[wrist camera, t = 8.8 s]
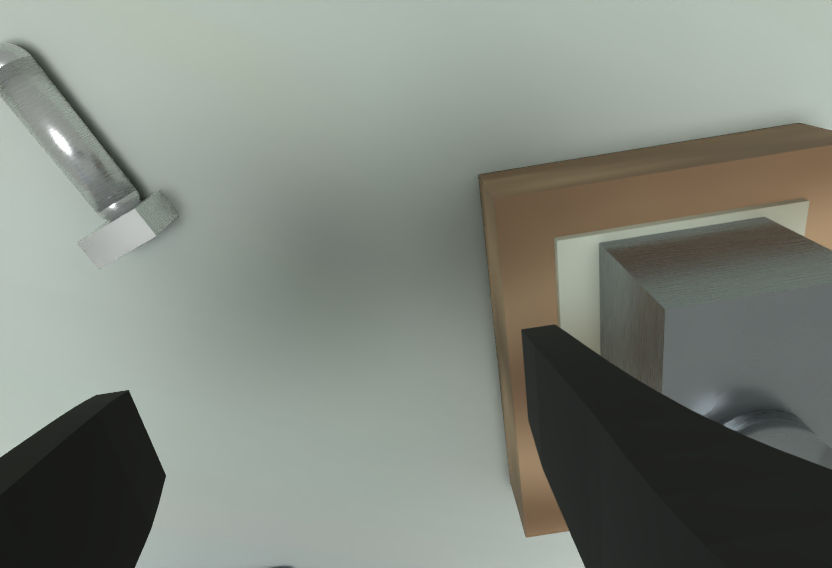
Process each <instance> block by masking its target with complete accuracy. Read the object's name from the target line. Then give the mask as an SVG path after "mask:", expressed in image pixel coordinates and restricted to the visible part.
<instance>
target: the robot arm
mask: <svg viewBox="0 0 832 568" xmlns="http://www.w3.org/2000/svg"><path fill="white" fill-rule="evenodd" d="M521 334H522V347H523V360H524V372H525V385H526V398H527V411H528V421H529V425H530V428H531V432H532V435H533V439H534V442H535V446H536V449H537V452H538V455H539V459H540V462H541V465H542V469H543V471H544V473H545V476H546V478H547V480H548V483H549V485H550V487H551V490H552V492H553V494H554V497H555V499H556V501H557V504H558V506H559V508H560V511H561V513H562V515H563V517H564V520H565V522H566V524H567V527H568V529H569V531H570V533H571V536H572V538H573V540H574V543H575V545H576V547H577V549H578V552H579V554H580V556H581V559H582V561H583V563H584V566H585V568H832V469H829V468H826V467H823V466H821V465H818V464H816V463H813V462H810V461H808V460H805V459H802V458H800V457H797V456H795V455H792V454H789V453H787V452H784V451H781V450H779V449H776V448H774V447H771V446H769V445H766V444H764V443H762V442H759V441H757V440H754V439H752V438H750V437H747V436H745V435H743V434H741V433H739V432H737V431H734V430H732V429H730V428H728V427H726V426H724V425H721V424H719V423H717V422H715V421H713V420H711V419H709V418H706V417H704V416H702V415H700V414H698V413H696V412H694V411H692V410H691V409H689V408H687V407H685V406H683V405H681V404H679V403H677V402H676V401H674V400H672V399H670V398H669V397H667V396H665V395H663V394H661V393H660V392H658V391H656V390H654V389H652V388H651V387H649V386H647V385H646V384H644V383H642V382H641V381H639V380H637V379H636V378H634V377H633V376H631V375H629V374H628V373H626V372H625V371H623V370H621V369H620V368H618V367H617V366H615V365H614V364H612V363H611V362H609V361H608V360H606V359H605V358H603V357H602V356H600V355H599V354H597V353H596V352H594V351H593V350H591V349H590V348H589V347H587V346H586V345H584V344H583V343H581V342H580V341H579V340H577V339H576V338H574V337H573V336H571V335H570V334H569V333H567V332H566V331H564V330H563V329H561V328H560V327H558V326H557V325H555V324H553V325H547V326H540V327H534V328H527V329H521ZM165 478H166V475H165V472H164V470H163V468H162V465H161V463H160V461H159V459H158V456H157V454H156V452H155V449H154V447H153V445H152V442H151V440H150V438H149V436H148V433H147V431H146V429H145V426H144V424H143V422H142V420H141V417H140V415H139V413H138V410H137V408H136V406H135V403H134V401H133V399H132V397H131V394H130V392H129V390H126V391H120V392H113V393H107V394H101V395H95V396H94V397H92V398H90V399H88V400H86V401H84V402H83V403H81V404H79V405H78V406H76V407H74V408H73V409H71V410H70V411H68V412H66V413H65V414H63V415H62V416H60V417H59V418H57V419H56V420H54V421H53V422H51V423H50V424H48V425H47V426H45V427H44V428H42V429H41V430H40V431H38V432H37V433H35V434H34V435H32V436H31V437H29V438H28V439H26V440H25V441H24V442H22V443H21V444H19V445H18V446H16V447H15V448H13V449H12V450H11V451H9V452H8V453H6V454H5V455H3V456H2V457H0V568H135V566H136V563H137V561H138V559H139V556H140V554H141V552H142V549H143V547H144V545H145V542H146V540H147V538H148V535H149V533H150V530H151V528H152V525H153V521H154V518H155V515H156V511H157V508H158V505H159V501H160V497H161V493H162V489H163V485H164V481H165Z"/></svg>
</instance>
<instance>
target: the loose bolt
mask: <svg viewBox="0 0 832 568" xmlns="http://www.w3.org/2000/svg"><path fill="white" fill-rule="evenodd" d="M0 97H1V98H2V99H3V100H4V101H5V103H6V104H7V105H8V106H9V107H10V109H11V110H12V111H13V112H14V114H15V115H16V116H17V117H18V118H19V120H20V121H21V122H22V123H23V124H24V126H25V127H26V128H27V129H28V130H29V132H30V133H31V134H32V135H33V136H34V138H35V139H36V140H37V141H38V142H39V144H40V145H41V146H42V147H43V148H44V150H45V151H46V152H47V153H48V154H49V156H50V157H51V158H52V159H53V161H54V162H55V163H56V164H57V165H58V167H59V168H60V169H61V170H62V171H63V173H64V174H65V175H66V176H67V177H68V179H69V180H70V181H71V182H72V183H73V185H74V186H75V187H76V188H77V189H78V191H79V192H80V193H81V194H82V195H83V197H84V198H85V199H86V200H87V201H88V203H89V204H90V205H91V206H92V207H93V209H94V210H95V211H96V212H97V213H98V214H99V215H100V216H101V217H102V218H103V219H105V220H107V222H106V223H104V224H103V225H101V226H100V227H99V228H97V229H96V230H94V231H93V232H92V233H90V234H89V235H87V236H86V237H85V238H83V239H82V240H80V241H79V242H78V243H77V244H78V245H79V246H80V247H81V249H82V250H83V251H84V252H85V253H86V254H87V255H88V257H89V258H90V259H91V260H92V261H93V262H94V264H95V265H96V266H97V267H98V268H99V269H101V268H102V267H104V266H106V265H107V264H109V263H111V262H113V261H114V260H116V259H118V258H120V257H121V256H123V255H125V254H126V253H128V252H130V251H132V250H133V249H135V248H137V247H138V246H140V245H142V244H144V243H145V242H147V241H149V240H150V239H152V238H154V237H156V236H157V235H158V234H159V233H160V232H161V231H162V230H163V229H164V228H166V227H167V226H168V225H169V224H170V223H171V222H172V221H173V220H174V219H175V218H176V217H177V216H178V215H179V214H178V213H177V211H176V210H175V209H174V208H173V206H172V205H171V204H170V202H169V201H168V200H167V198H166V197H165V196H164V194H163V193H162V192H161V191H160V190H159V191H157V192H156V193H154V194H152V195H151V196H149V197H147V198H146V199H144V200H142V201H141V199H140V195H139V193H138V191H137V190H136V189H135V187H134V186H133V185H132V183H131V182H130V181H129V180H128V178H127V177H126V176H125V174H124V173H123V172H122V171H121V169H120V168H119V167H118V166H117V164H116V163H115V162H114V160H113V159H112V158H111V157H110V155H109V154H108V153H107V151H106V150H105V149H104V148H103V146H102V145H101V144H100V143H99V141H98V140H97V139H96V137H95V136H94V135H93V134H92V132H91V131H90V130H89V128H88V127H87V126H86V125H85V123H84V122H83V121H82V120H81V118H80V117H79V116H78V114H77V113H76V112H75V111H74V109H73V108H72V107H71V105H70V104H69V103H68V102H67V100H66V99H65V98H64V97H63V95H62V94H61V93H60V91H59V90H58V89H57V88H56V86H55V85H54V84H53V83H52V81H51V80H50V79H49V77H48V76H47V75H46V74H45V72H44V71H43V70H42V68H41V67H40V66H39V65H38V63H37V62H36V61H35V60H34V58H33V57H32V56H31V55H30V54H29V53H28V52H27V51H26V50H24V49H23V48H21V47H19V46H17V45H14V44H11V43H0Z"/></svg>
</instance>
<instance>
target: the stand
mask: <svg viewBox="0 0 832 568" xmlns="http://www.w3.org/2000/svg"><path fill="white" fill-rule="evenodd" d="M478 176H479V185H480V195H481V205H482V214H483V224H484V234H485V243H486V253H487V262H488V272H489V282H490V291H491V301H492V310H493V320H494V330H495V339H496V349H497V358H498V368H499V378H500V387H501V397H502V406H503V416H504V426H505V435H506V445H507V455H508V464H509V474H510V483H511V486H512V490H513V493H514V497H515V500H516V504H517V507H518V511H519V515H520V518H521V522H522V525H523V529H524V532H525V536H526V537H532V536H539V535H546V534H552V533H559V532H565V531H569V529H568V527H567V524H566V522H565V520H564V517H563V515H562V513H561V511H560V508H559V506H558V504H557V501H556V499H555V497H554V494H553V492H552V490H551V487H550V485H549V483H548V480H547V478H546V476H545V473H544V471H543V469H542V465H541V462H540V459H539V455H538V452H537V449H536V446H535V442H534V439H533V435H532V432H531V428H530V425H529V421H528V411H527V398H526V385H525V372H524V360H523V347H522V334H521V329H527V328H534V327H540V326H547V325H553V324H555V325H557V326H558V327H560V328H561V329H563V330H564V331H566V332H567V333H569V334H570V335H571V336H573V337H574V338H576V339H577V340H579V341H580V342H581V343H583V344H584V345H586V346H587V347H589V348H590V349H591V350H593V351H594V352H596V353H597V354H599V355H600V288H599V243H601V242H607V241H614V240H620V239H626V238H632V237H639V236H645V235H651V234H657V233H664V232H670V231H676V230H683V229H689V228H695V227H701V226H708V225H714V224H720V223H726V222H733V221H739V220H745V219H752V218H758V217H766V218H768V219H770V220H772V221H774V222H776V223H778V224H780V225H782V226H784V227H786V228H788V229H790V230H792V231H794V232H796V233H798V234H800V235H802V236H804V237H806V238H808V239H810V240H812V241H814V242H816V243H818V244H820V245H822V246H824V247H826V248H828V249H830V250H832V131H831V130H827V129H823V128H819V127H814V126H810V125H806V124H801V123H796V124H790V125H783V126H777V127H771V128H765V129H759V130H752V131H746V132H740V133H734V134H728V135H721V136H715V137H709V138H703V139H697V140H690V141H684V142H678V143H672V144H666V145H659V146H653V147H647V148H641V149H635V150H628V151H622V152H616V153H610V154H604V155H597V156H591V157H585V158H579V159H573V160H566V161H560V162H554V163H548V164H542V165H535V166H529V167H523V168H517V169H510V170H504V171H498V172H492V173H486V174H479V175H478Z"/></svg>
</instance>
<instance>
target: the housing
mask: <svg viewBox="0 0 832 568" xmlns="http://www.w3.org/2000/svg"><path fill="white" fill-rule="evenodd" d="M599 288H600V356H602V357H603V358H605V359H606V360H608V361H609V362H611V363H612V364H614V365H615V366H617V367H618V368H620V369H621V370H623V371H625V372H626V373H628V374H629V375H631V376H633V377H634V378H636V379H637V380H639V381H641V382H642V383H644V384H646V385H647V386H649V387H651V388H652V389H654V390H656V391H658V392H660V393H661V394H663V395H665V396H667V397H669V398H670V399H672V400H674V401H676V402H677V403H679V404H681V405H683V406H685V407H687V408H689V409H691V410H692V411H694V412H696V413H698V414H700V415H702V416H704V417H706V418H709V419H711V420H713V421H715V422H717V423H719V424H721V425H724V426H726V427H728V428H730V429H732V430H734V431H737V432H739V433H741V434H743V435H745V436H747V437H750V438H752V439H754V440H757V441H759V442H762V443H764V444H766V445H769V446H771V447H774V448H776V449H779V450H781V451H784V452H787V453H789V454H792V455H795V456H797V457H800V458H802V459H805V460H808V461H810V462H813V463H816V464H818V465H821V466H823V467H826V468H829V469H832V250H830V249H828V248H826V247H824V246H822V245H820V244H818V243H816V242H814V241H812V240H810V239H808V238H806V237H804V236H802V235H800V234H798V233H796V232H794V231H792V230H790V229H788V228H786V227H784V226H782V225H780V224H778V223H776V222H774V221H772V220H770V219H768V218H766V217H758V218H752V219H745V220H739V221H733V222H726V223H720V224H714V225H708V226H701V227H695V228H689V229H683V230H676V231H670V232H664V233H657V234H651V235H645V236H639V237H632V238H626V239H620V240H614V241H607V242H601V243H599Z"/></svg>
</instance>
